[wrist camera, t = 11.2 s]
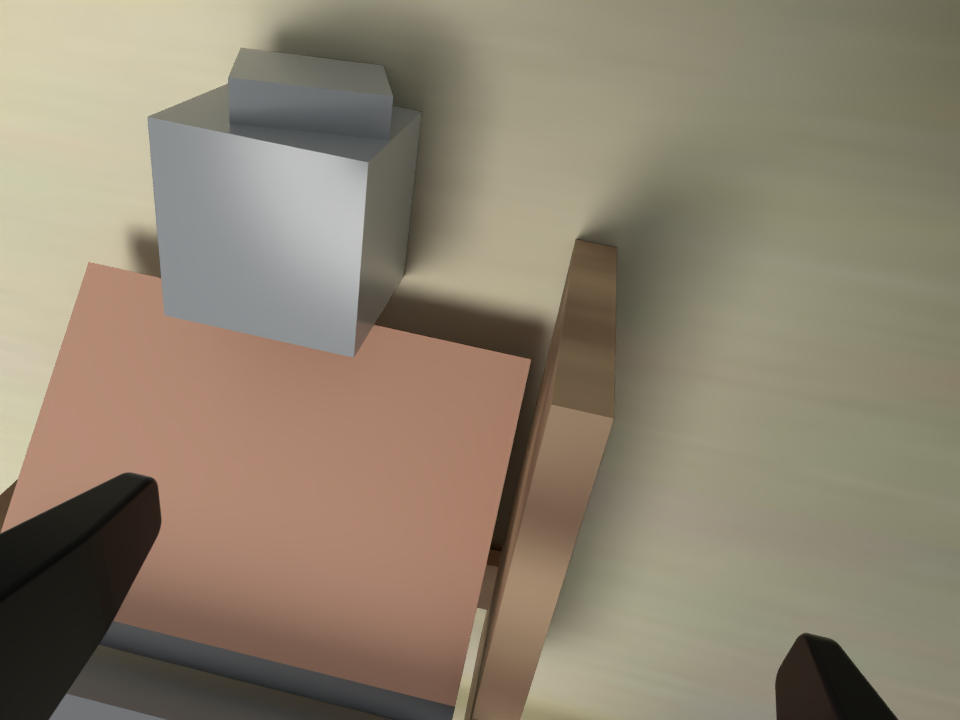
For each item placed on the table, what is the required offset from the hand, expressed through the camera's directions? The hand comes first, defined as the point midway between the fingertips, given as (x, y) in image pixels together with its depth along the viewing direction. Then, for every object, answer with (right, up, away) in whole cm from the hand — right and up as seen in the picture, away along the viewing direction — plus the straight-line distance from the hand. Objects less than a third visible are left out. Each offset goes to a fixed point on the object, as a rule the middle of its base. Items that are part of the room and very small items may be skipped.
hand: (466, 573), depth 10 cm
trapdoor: (-7, -3, +13) cm, 15 cm away
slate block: (-5, +5, +11) cm, 13 cm away
